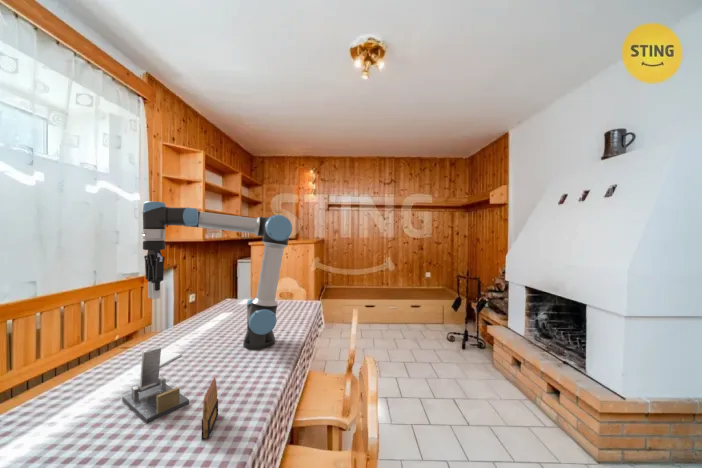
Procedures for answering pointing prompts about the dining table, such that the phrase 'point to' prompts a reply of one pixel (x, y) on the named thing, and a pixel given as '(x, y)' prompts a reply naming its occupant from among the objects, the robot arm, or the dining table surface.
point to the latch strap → (150, 369)
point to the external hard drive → (168, 358)
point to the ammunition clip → (209, 410)
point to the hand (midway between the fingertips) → (154, 297)
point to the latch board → (147, 408)
